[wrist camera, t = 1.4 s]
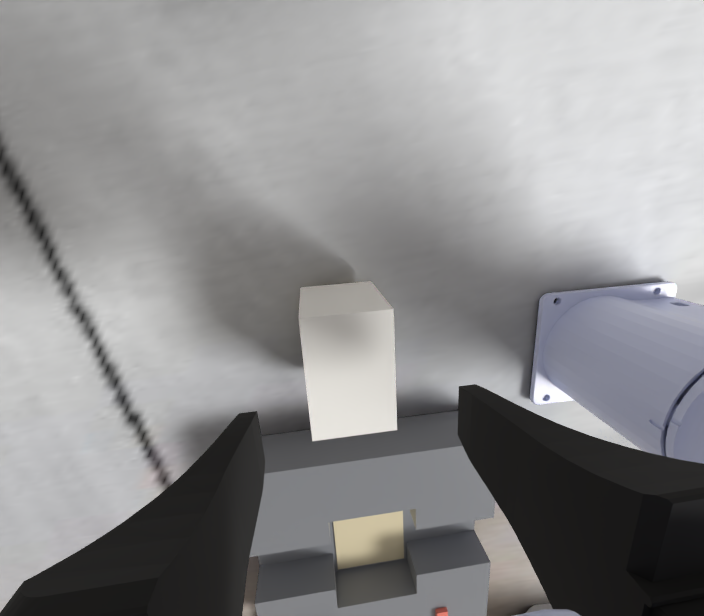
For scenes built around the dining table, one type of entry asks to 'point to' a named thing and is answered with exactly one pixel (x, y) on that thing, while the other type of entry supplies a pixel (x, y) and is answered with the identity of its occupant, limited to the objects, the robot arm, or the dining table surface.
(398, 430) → the socket board
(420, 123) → the dining table surface
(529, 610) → the bent grey cylinder
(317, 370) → the plug
